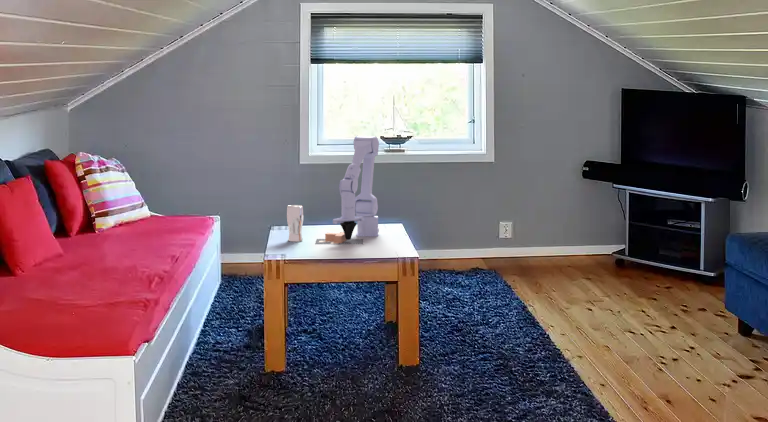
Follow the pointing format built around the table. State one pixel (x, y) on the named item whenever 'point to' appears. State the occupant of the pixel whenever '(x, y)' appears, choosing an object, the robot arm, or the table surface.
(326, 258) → the table surface
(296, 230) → the beer glass
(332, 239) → the t block
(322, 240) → the t mat
